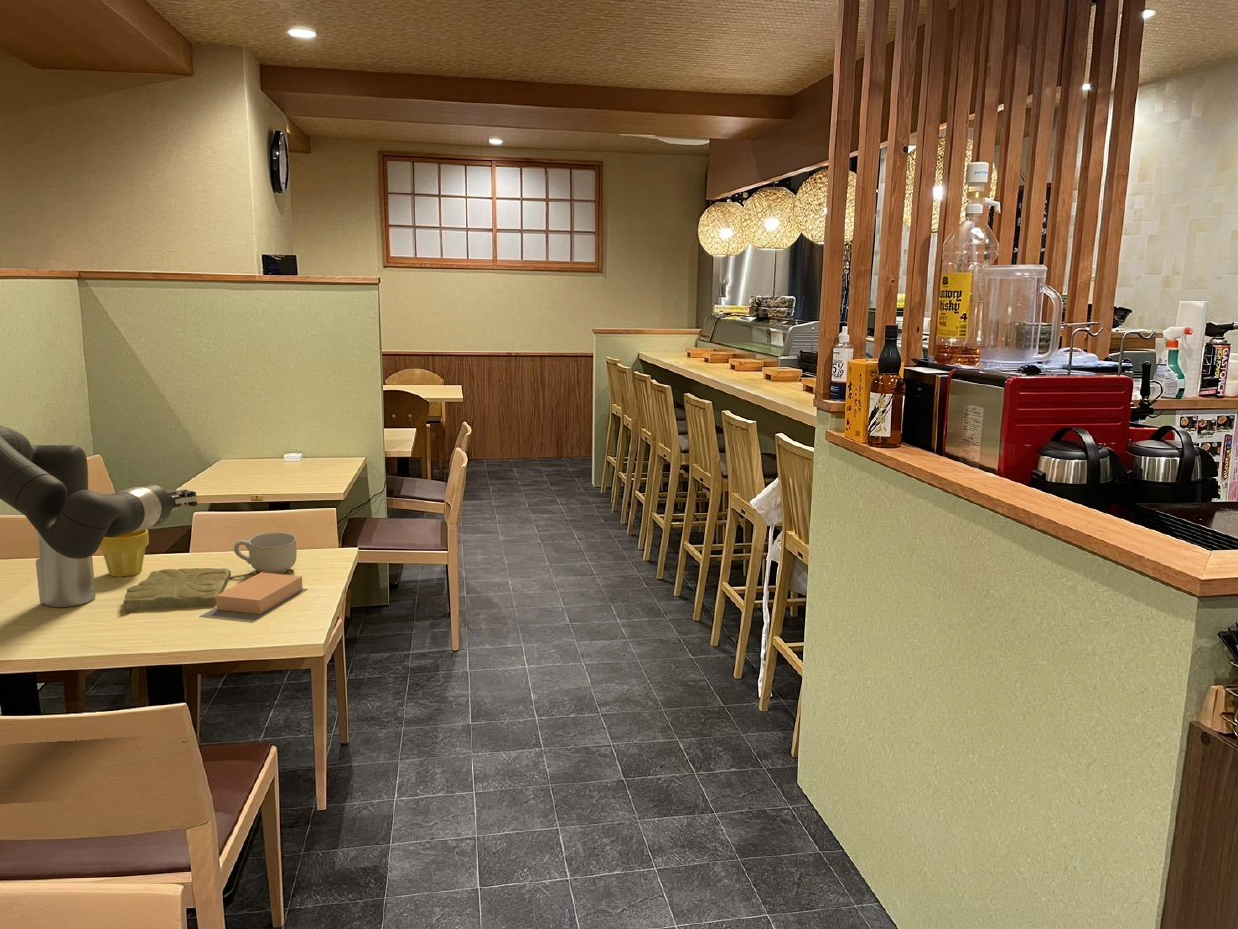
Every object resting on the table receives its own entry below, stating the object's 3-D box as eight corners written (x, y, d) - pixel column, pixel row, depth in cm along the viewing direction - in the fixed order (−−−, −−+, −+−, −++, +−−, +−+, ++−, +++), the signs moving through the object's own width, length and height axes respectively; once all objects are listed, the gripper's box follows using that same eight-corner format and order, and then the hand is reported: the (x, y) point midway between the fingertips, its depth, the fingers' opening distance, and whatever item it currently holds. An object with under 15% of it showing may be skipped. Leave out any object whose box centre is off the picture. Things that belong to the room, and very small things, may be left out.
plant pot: (161, 568, 210) (158, 528, 209) (127, 581, 201) (124, 540, 199) (124, 563, 213) (121, 524, 211) (89, 577, 203) (86, 535, 201)
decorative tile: (232, 579, 206) (231, 565, 205) (217, 610, 187) (216, 594, 186) (142, 584, 201) (141, 569, 200) (118, 615, 182) (117, 599, 181)
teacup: (304, 564, 216) (303, 533, 215) (287, 579, 206) (286, 545, 204) (248, 562, 216) (246, 531, 215) (227, 577, 206) (225, 543, 204)
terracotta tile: (215, 595, 183) (261, 572, 199) (216, 609, 184) (261, 585, 199) (259, 600, 182) (302, 576, 197) (260, 614, 182) (302, 589, 198)
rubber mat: (199, 618, 180) (199, 616, 180) (260, 585, 200) (259, 584, 200) (252, 624, 178) (252, 622, 178) (308, 590, 198) (308, 589, 198)
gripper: (103, 533, 154) (153, 517, 171) (179, 526, 154) (222, 511, 171) (96, 490, 153) (147, 479, 170) (173, 483, 153) (216, 472, 170)
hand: (185, 495), depth 171 cm, fingers closed
